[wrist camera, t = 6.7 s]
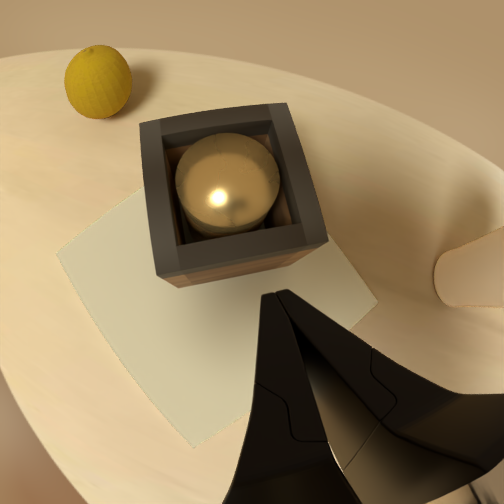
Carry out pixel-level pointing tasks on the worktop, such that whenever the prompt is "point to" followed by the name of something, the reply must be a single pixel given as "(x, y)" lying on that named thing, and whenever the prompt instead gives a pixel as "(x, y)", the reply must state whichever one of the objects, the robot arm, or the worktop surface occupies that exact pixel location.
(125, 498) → the worktop surface
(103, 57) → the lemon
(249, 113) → the wooden box
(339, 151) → the worktop surface
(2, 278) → the worktop surface
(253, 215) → the peg
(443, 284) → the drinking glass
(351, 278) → the mat
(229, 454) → the worktop surface
